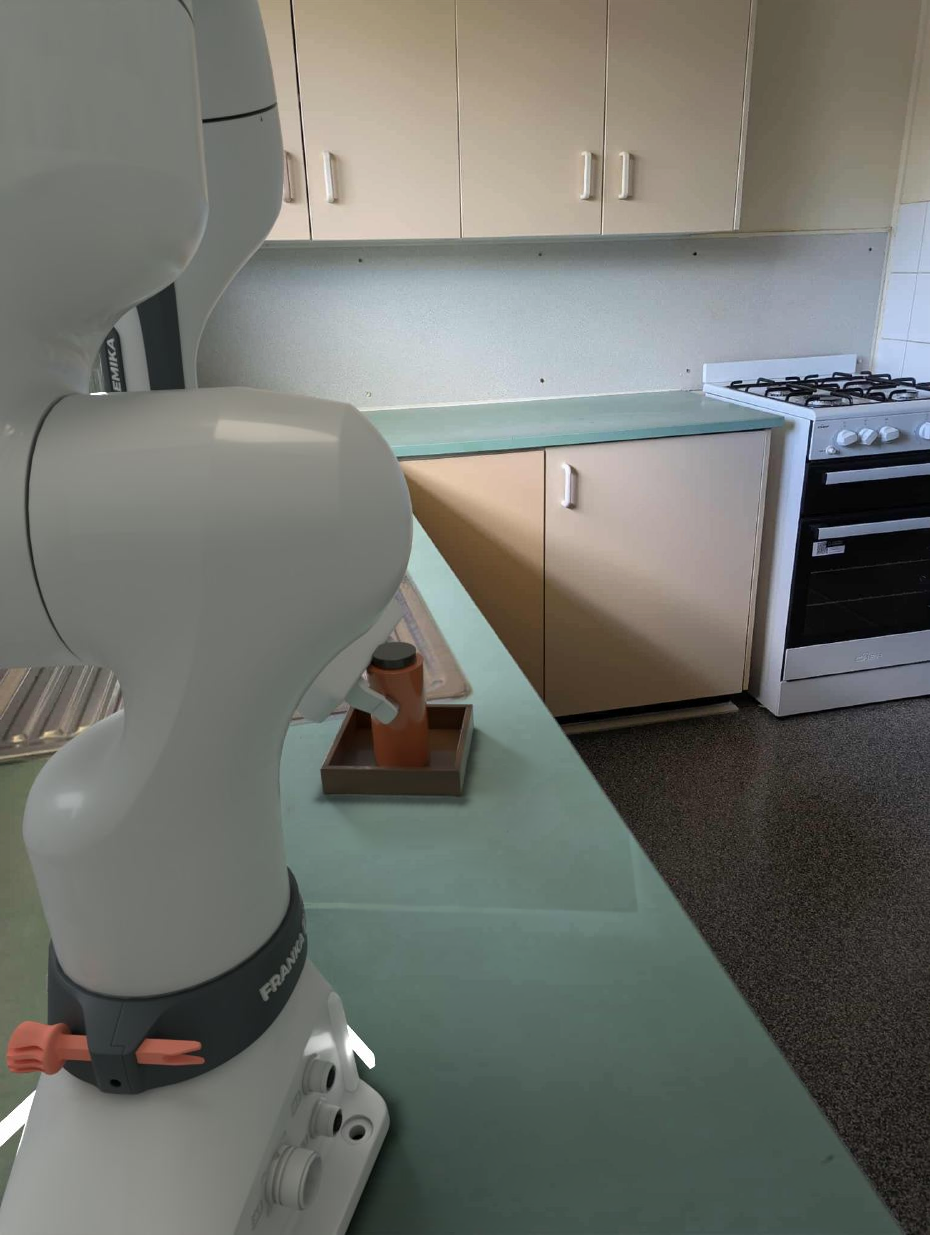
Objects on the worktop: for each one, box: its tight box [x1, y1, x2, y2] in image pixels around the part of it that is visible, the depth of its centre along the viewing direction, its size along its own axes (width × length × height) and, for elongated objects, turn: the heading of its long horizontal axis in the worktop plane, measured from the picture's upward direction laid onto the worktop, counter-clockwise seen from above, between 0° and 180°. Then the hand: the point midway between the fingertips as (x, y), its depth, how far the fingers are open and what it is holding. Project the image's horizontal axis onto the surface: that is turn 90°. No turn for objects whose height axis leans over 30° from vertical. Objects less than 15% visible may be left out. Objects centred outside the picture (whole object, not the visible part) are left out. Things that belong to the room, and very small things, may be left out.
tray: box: [319, 703, 475, 797], centre depth 81 cm, size 12×12×3 cm
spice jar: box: [365, 641, 431, 767], centre depth 80 cm, size 5×5×11 cm
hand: (404, 699), depth 79 cm, fingers closed on spice jar, 5 cm apart
